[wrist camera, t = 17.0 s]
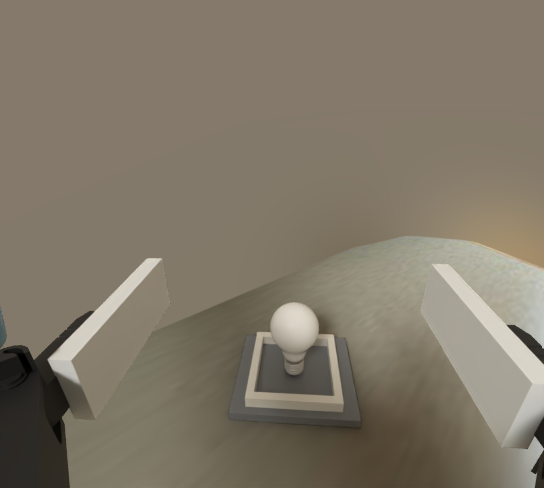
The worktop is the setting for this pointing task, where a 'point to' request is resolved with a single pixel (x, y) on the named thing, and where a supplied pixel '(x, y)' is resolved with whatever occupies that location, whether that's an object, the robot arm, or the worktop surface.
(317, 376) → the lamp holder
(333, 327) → the worktop surface
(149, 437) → the worktop surface
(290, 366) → the lightbulb
